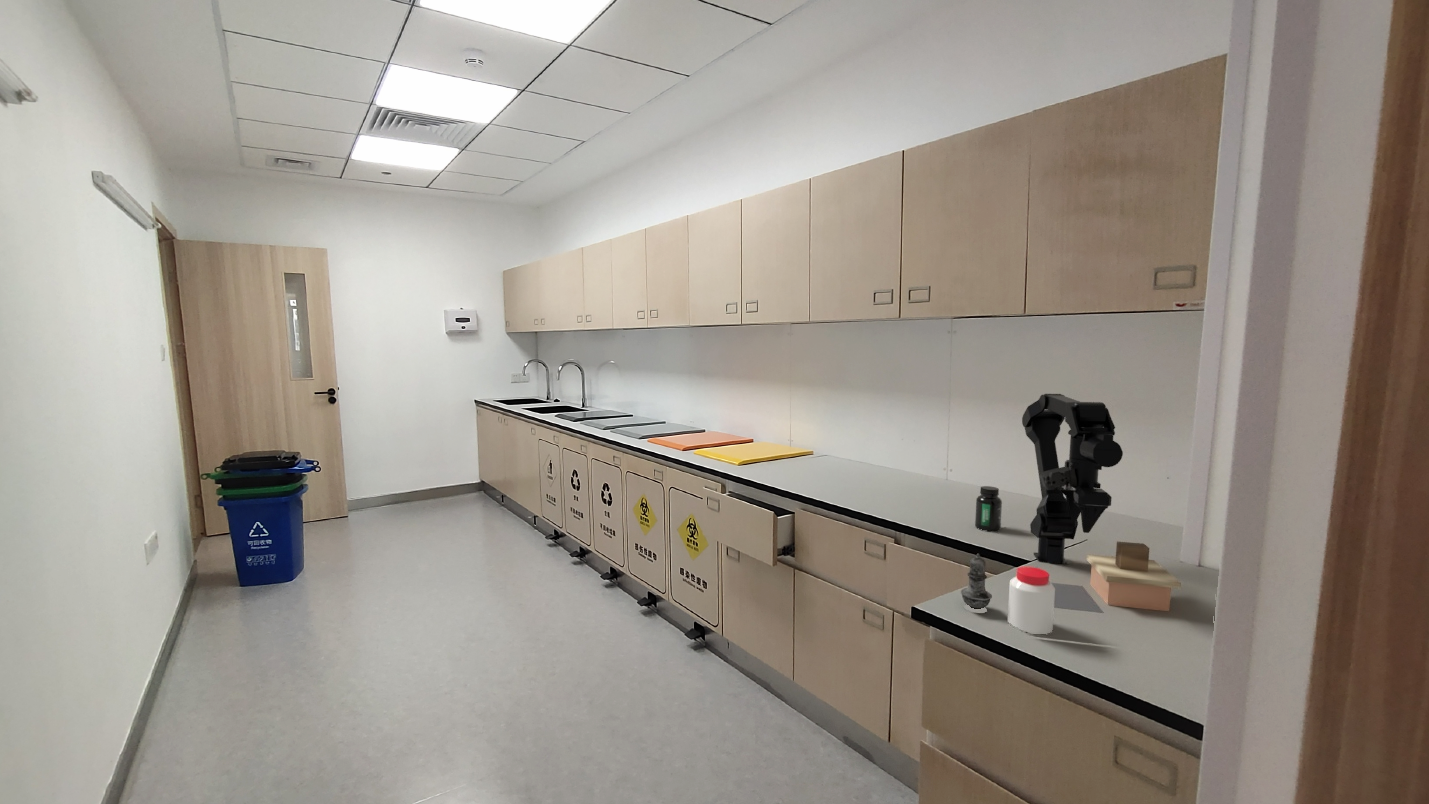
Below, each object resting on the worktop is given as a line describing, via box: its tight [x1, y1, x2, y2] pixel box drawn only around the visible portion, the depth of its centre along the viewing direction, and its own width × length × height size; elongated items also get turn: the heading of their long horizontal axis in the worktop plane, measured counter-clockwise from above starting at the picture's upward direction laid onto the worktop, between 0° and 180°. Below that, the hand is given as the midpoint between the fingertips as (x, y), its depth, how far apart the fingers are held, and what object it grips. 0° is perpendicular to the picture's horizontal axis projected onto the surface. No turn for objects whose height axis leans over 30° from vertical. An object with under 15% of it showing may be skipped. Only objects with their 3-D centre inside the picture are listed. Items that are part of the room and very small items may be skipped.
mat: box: [1050, 582, 1104, 614], centre depth 132 cm, size 14×14×1 cm
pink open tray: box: [1090, 565, 1172, 612], centre depth 131 cm, size 11×11×6 cm
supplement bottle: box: [974, 485, 1003, 532], centre depth 179 cm, size 7×7×12 cm
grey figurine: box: [960, 553, 993, 609], centre depth 125 cm, size 6×6×12 cm
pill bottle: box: [1007, 566, 1055, 635], centre depth 117 cm, size 8×8×11 cm
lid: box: [1086, 541, 1182, 589], centre depth 130 cm, size 13×13×6 cm
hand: (1079, 526), depth 138 cm, fingers open, 9 cm apart
